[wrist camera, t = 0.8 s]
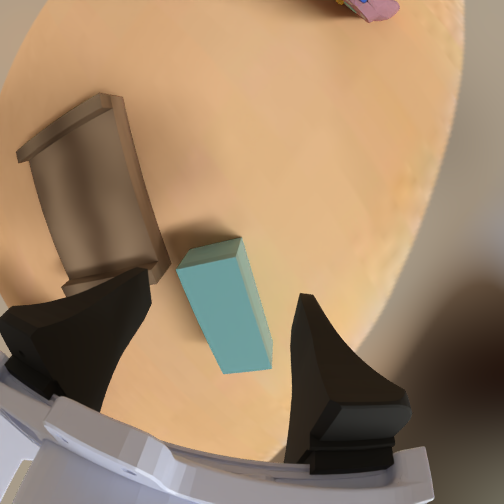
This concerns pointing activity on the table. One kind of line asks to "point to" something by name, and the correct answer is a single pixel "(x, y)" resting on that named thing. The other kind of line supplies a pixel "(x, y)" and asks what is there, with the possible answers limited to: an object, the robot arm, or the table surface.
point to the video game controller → (372, 8)
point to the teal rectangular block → (227, 305)
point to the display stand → (95, 195)
